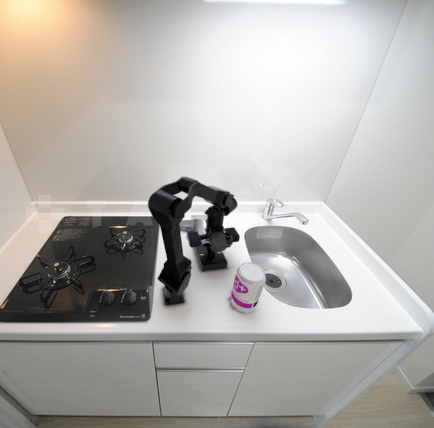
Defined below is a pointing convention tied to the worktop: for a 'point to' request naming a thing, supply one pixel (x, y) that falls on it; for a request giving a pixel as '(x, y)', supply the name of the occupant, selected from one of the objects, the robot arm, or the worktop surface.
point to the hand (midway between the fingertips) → (210, 253)
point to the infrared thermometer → (192, 225)
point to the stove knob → (212, 252)
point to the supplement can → (247, 287)
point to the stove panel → (210, 259)
